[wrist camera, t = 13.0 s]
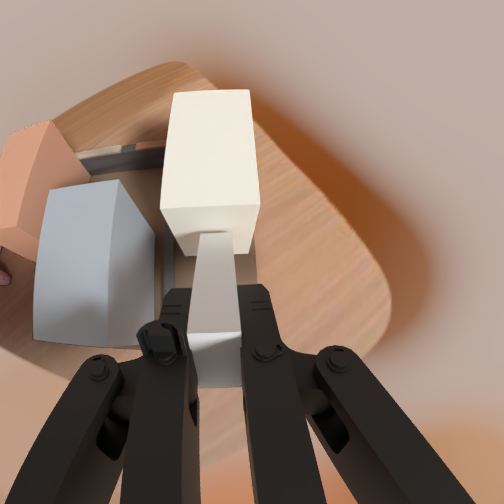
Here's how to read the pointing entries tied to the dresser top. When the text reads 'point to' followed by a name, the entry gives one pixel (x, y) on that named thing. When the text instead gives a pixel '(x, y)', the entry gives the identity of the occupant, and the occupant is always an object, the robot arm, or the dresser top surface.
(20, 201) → the terracotta block
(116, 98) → the dresser top surface
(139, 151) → the tray
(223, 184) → the cream white block
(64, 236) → the blue-grey block
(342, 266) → the dresser top surface
